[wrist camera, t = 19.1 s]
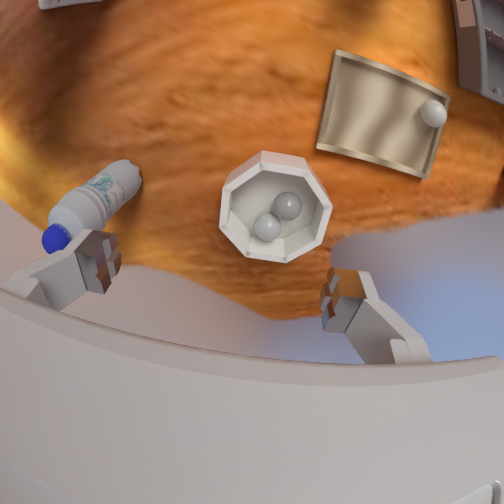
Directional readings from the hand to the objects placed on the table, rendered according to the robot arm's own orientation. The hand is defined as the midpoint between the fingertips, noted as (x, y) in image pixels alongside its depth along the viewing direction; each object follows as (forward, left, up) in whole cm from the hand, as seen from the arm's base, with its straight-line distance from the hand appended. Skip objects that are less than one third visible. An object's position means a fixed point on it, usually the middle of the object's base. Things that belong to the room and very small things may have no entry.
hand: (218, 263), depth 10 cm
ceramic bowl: (+4, -10, -29) cm, 31 cm away
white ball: (+23, +9, -29) cm, 38 cm away
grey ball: (+5, -11, -28) cm, 30 cm away
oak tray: (+17, +6, -29) cm, 34 cm away
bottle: (-19, -9, -29) cm, 36 cm away
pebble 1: (+4, -11, -26) cm, 29 cm away
